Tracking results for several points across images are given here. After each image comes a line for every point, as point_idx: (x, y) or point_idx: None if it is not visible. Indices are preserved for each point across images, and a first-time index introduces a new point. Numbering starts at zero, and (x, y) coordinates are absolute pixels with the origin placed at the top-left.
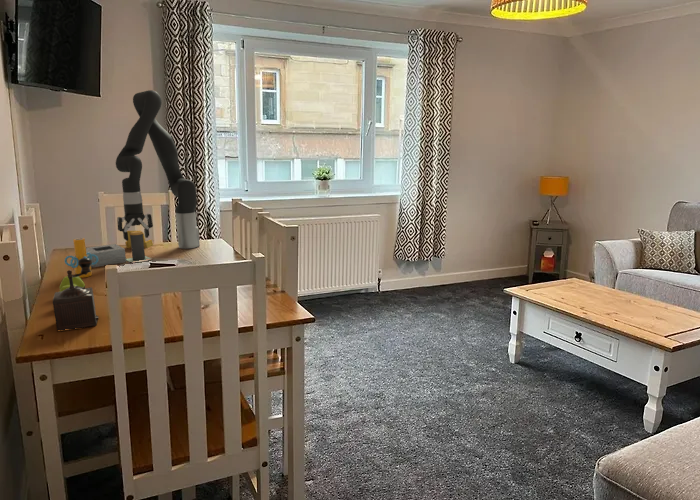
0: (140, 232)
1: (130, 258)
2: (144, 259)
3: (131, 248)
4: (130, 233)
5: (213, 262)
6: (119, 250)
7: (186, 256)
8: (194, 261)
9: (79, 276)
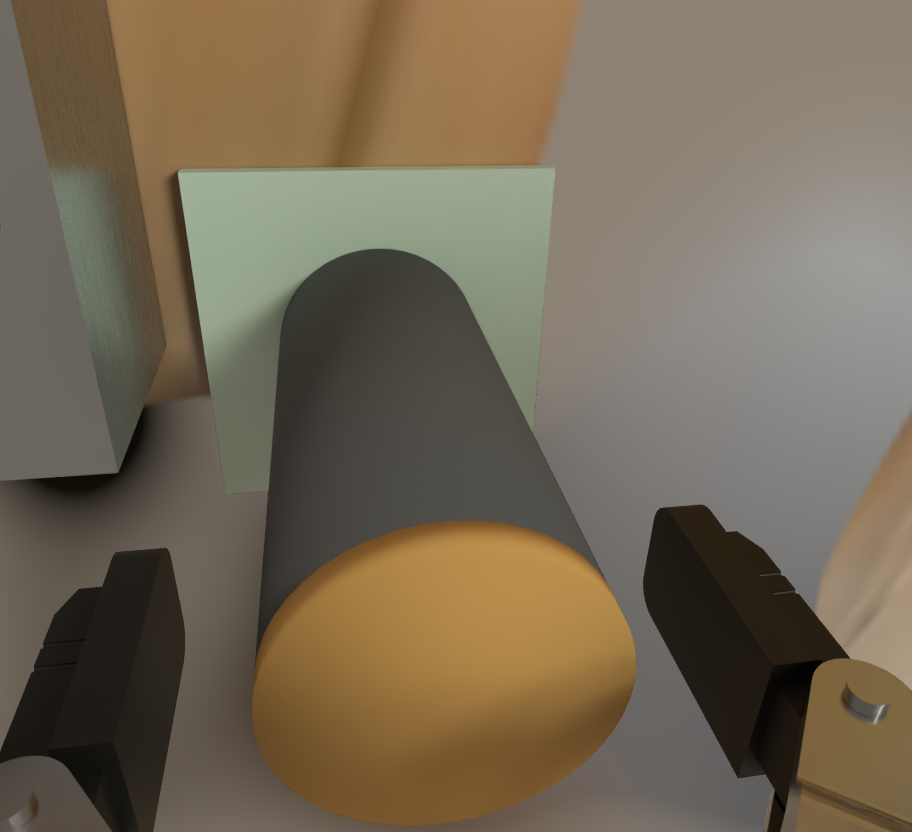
0: (558, 730)
1: (272, 195)
2: None
3: (274, 423)
4: (263, 733)
5: None
6: (1, 467)
7: (905, 509)
8: None
9: None
